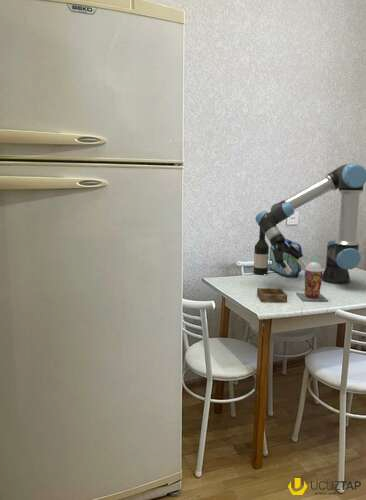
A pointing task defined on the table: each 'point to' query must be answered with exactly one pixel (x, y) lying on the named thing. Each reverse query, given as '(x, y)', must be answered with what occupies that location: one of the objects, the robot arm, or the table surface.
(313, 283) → the smoothie
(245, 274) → the table surface
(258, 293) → the tray
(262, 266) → the wine bottle
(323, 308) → the table surface
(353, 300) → the table surface
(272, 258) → the lunch box
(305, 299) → the coaster
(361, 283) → the table surface
